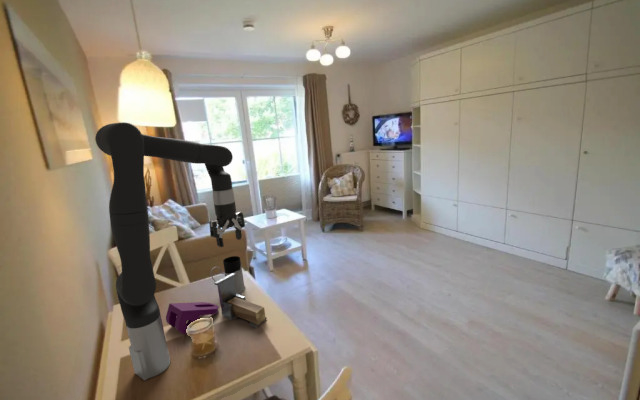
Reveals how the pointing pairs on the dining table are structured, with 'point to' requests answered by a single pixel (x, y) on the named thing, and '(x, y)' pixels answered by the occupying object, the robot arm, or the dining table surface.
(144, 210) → the robot arm
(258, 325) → the far saddle
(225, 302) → the cup bracket
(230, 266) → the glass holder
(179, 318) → the mounting bracket
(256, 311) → the brown wooden block
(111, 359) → the dining table surface
